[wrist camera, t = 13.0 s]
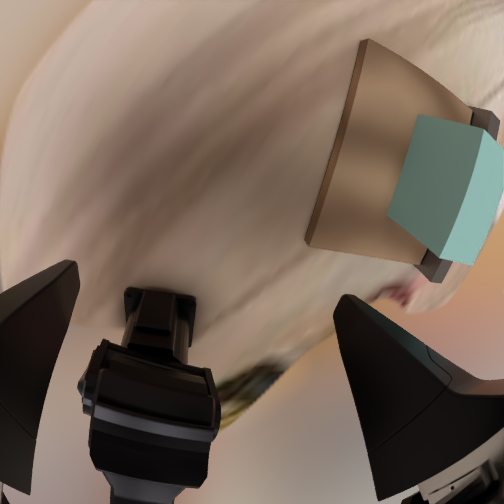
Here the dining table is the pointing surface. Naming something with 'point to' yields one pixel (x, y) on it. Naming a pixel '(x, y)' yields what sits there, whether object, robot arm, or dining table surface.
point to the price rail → (430, 263)
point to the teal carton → (449, 187)
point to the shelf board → (376, 155)
